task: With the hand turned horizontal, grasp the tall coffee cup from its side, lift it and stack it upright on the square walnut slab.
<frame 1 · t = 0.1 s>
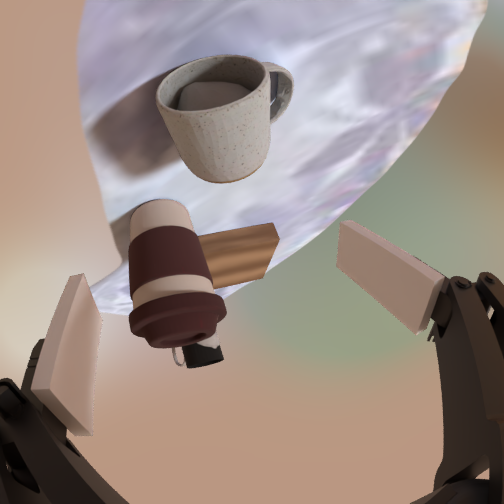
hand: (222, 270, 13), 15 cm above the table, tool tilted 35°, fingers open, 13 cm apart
coffee cup: (159, 215, 32), on the table
walnut slab: (224, 254, 45), on the table
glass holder: (180, 298, 58), on the table
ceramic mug: (224, 89, 20), on the table
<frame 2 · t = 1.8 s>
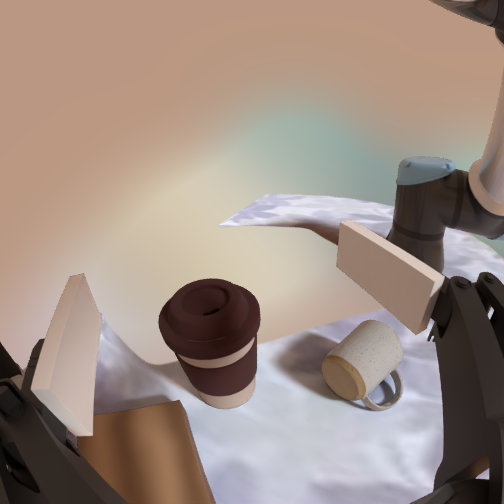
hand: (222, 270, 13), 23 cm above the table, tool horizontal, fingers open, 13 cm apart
coffee cup: (227, 388, 32), on the table
walnut slab: (142, 469, 21), on the table
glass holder: (38, 419, 24), on the table
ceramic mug: (364, 383, 30), on the table
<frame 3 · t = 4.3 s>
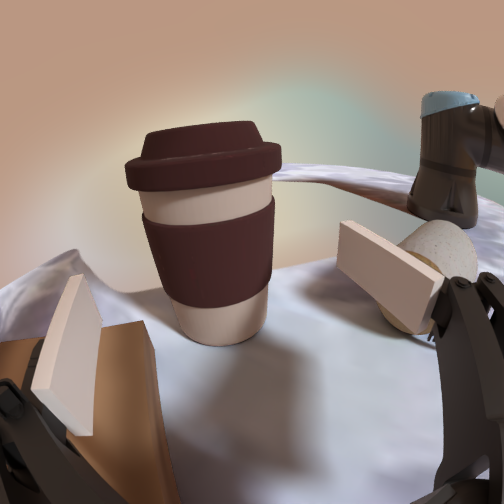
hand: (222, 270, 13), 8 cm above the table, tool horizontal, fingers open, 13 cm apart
coffee cup: (223, 319, 22), on the table
walnut slab: (67, 434, 11), on the table
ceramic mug: (429, 319, 20), on the table
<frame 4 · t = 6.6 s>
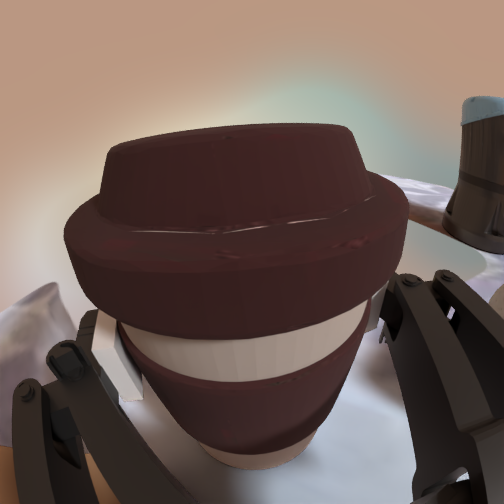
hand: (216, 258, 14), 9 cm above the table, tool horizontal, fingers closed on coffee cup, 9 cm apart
coffee cup: (255, 420, 14), on the table, touching gripper
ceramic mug: (502, 393, 11), on the table
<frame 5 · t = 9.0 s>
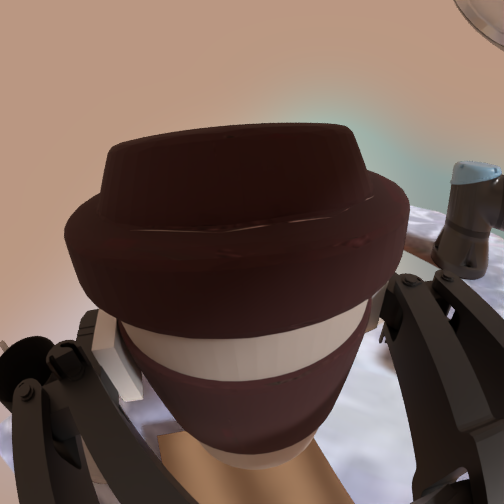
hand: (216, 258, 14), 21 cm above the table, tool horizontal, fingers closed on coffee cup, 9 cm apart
coffee cup: (255, 420, 14), point 12 cm above the table, touching gripper
walnut slab: (250, 487, 18), on the table
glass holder: (87, 440, 21), on the table
when the fingers open (13 cm above the table, at t = 11.5 s): coffee cup moves 1 cm, resting on walnut slab.
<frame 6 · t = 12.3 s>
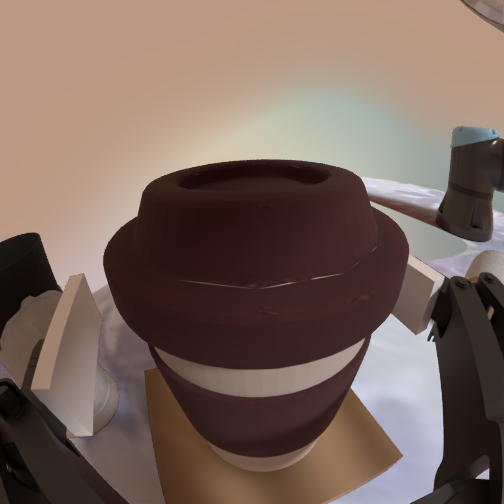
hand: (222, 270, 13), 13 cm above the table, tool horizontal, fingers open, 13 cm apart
coffee cup: (262, 426, 15), point 3 cm above the table, touching walnut slab
walnut slab: (259, 439, 16), on the table
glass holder: (65, 388, 20), on the table
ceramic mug: (484, 320, 24), on the table
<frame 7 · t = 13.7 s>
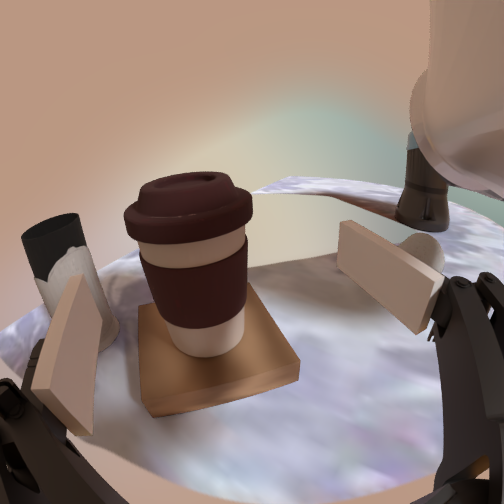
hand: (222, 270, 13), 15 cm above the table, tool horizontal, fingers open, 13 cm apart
coffee cup: (208, 334, 26), point 3 cm above the table, touching walnut slab
walnut slab: (209, 351, 28), on the table
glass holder: (79, 328, 31), on the table
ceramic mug: (415, 292, 35), on the table
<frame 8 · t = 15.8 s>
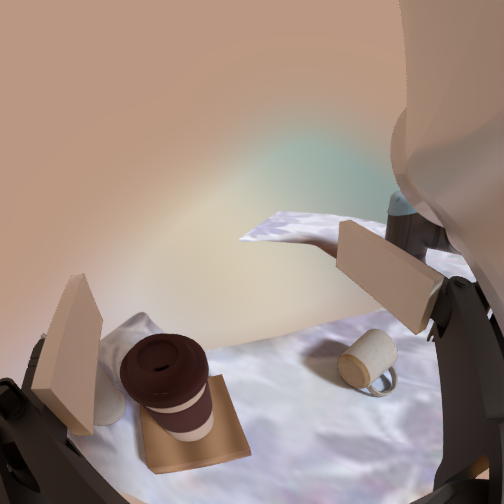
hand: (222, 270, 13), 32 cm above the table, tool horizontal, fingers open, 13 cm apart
coffee cup: (189, 422, 33), point 3 cm above the table, touching walnut slab
walnut slab: (192, 428, 34), on the table
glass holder: (95, 399, 37), on the table
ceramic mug: (368, 377, 40), on the table
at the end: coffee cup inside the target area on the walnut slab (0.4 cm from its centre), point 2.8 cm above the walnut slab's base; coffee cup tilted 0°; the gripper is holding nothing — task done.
